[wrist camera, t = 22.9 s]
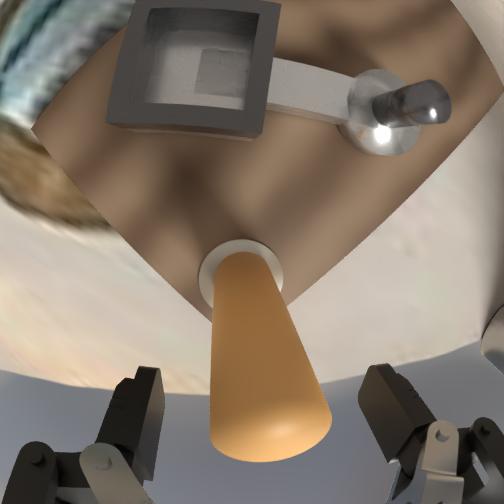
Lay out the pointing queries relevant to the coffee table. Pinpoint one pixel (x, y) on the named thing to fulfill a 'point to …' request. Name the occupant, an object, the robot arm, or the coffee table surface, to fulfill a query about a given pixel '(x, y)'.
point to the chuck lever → (252, 80)
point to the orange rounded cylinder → (259, 369)
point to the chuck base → (272, 151)
